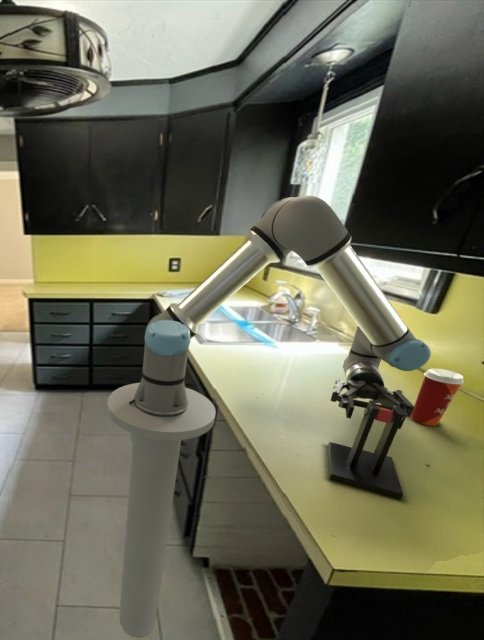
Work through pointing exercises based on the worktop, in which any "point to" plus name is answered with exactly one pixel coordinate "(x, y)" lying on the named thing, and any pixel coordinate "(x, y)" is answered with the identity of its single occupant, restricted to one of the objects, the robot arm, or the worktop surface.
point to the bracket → (368, 457)
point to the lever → (383, 411)
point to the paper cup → (435, 395)
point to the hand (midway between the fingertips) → (374, 417)
